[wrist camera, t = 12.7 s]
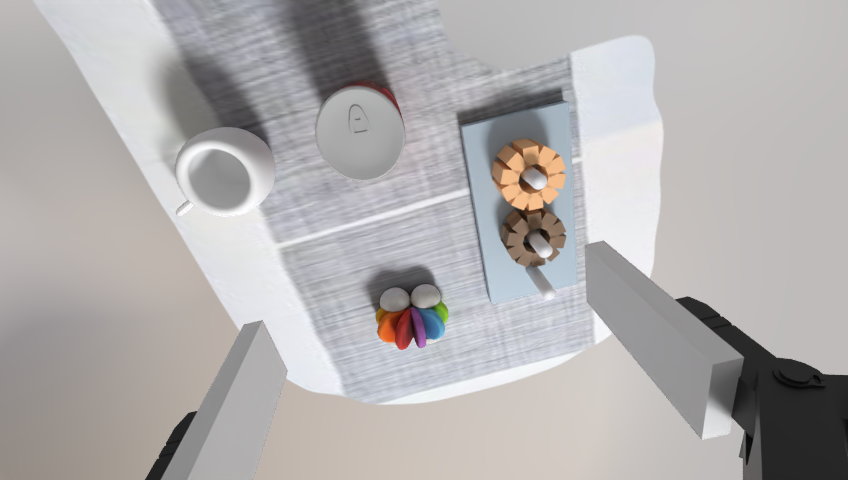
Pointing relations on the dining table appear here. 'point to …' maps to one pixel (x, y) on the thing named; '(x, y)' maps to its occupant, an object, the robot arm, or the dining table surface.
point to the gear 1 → (516, 162)
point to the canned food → (360, 131)
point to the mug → (224, 172)
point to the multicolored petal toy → (411, 316)
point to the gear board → (493, 208)
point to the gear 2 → (522, 225)
